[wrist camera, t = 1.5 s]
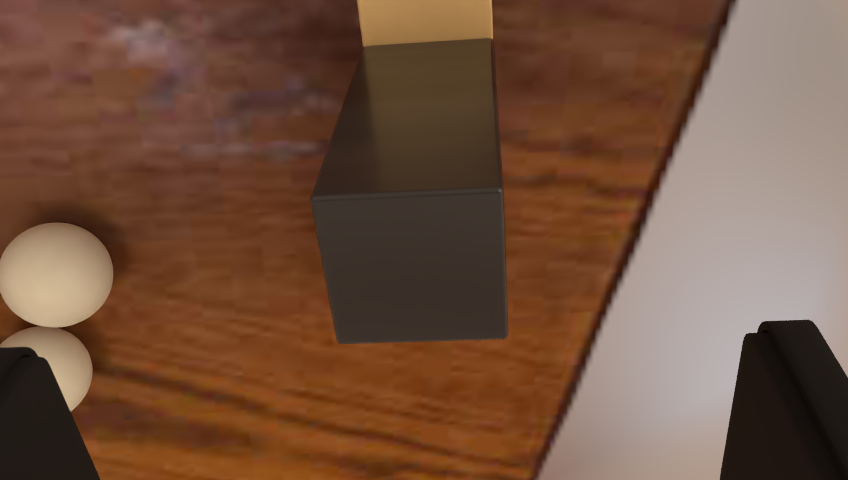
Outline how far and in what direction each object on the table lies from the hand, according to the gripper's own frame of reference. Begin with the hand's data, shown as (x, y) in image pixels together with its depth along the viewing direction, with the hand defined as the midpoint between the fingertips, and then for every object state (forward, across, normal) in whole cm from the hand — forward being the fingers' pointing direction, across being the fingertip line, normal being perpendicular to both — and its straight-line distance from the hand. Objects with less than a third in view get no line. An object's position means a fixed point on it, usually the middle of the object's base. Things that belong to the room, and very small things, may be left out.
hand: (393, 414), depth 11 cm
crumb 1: (+11, +12, +5) cm, 17 cm away
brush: (+13, 0, -1) cm, 13 cm away
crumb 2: (+11, +14, +9) cm, 20 cm away
